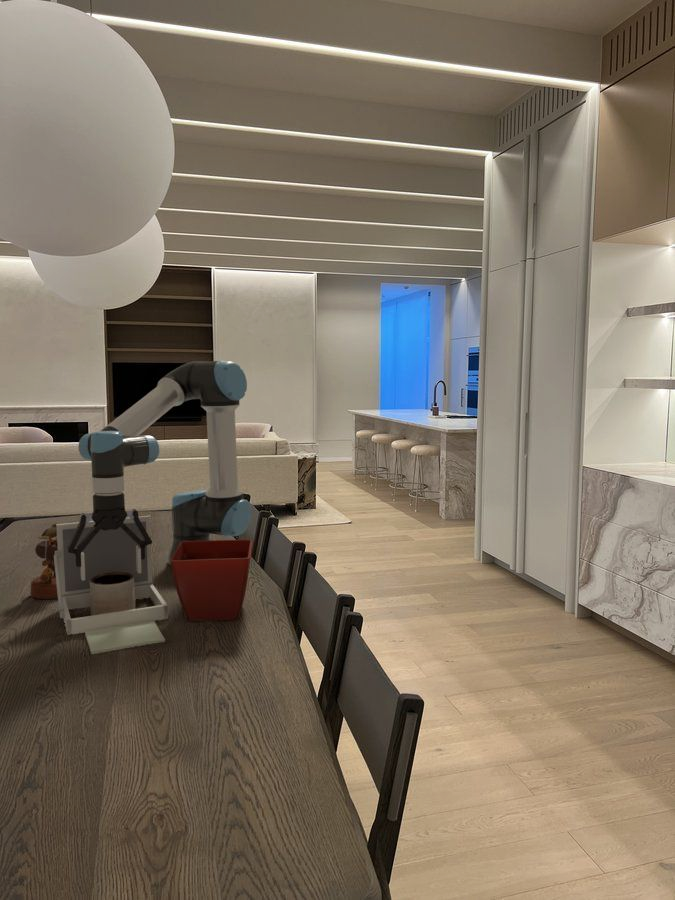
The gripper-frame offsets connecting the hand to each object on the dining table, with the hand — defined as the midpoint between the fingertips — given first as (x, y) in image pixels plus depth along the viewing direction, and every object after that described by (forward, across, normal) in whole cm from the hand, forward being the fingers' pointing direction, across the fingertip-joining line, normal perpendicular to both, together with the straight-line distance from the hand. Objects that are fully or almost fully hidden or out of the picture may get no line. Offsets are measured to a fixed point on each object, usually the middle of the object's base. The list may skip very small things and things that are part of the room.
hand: (111, 575), depth 172 cm
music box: (+10, +13, -25) cm, 30 cm away
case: (+10, 0, 0) cm, 10 cm away
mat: (+10, 0, +17) cm, 20 cm away
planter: (+10, 0, 0) cm, 11 cm away
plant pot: (+10, -24, +10) cm, 28 cm away
